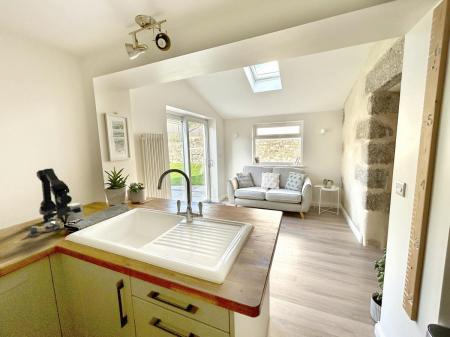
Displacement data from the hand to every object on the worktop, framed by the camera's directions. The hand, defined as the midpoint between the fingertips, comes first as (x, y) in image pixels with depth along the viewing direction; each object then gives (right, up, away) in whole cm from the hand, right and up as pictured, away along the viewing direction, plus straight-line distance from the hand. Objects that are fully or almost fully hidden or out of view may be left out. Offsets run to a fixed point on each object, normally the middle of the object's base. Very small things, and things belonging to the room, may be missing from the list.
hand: (65, 225), depth 129 cm
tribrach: (-13, -3, +4) cm, 14 cm away
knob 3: (-3, -1, +2) cm, 3 cm away
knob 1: (-13, -3, -5) cm, 14 cm away
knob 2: (-15, -1, +11) cm, 19 cm away
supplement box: (-5, -2, +15) cm, 16 cm away
